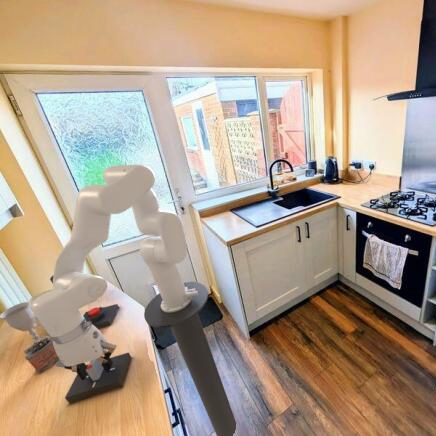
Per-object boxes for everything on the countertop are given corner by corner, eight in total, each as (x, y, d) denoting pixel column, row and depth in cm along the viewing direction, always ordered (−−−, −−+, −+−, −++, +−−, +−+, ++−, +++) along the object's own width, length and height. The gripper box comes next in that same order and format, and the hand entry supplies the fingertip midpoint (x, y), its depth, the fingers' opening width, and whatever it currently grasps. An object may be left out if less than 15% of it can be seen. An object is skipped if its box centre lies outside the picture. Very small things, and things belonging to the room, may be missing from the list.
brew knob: (99, 367, 78) (91, 356, 76) (104, 365, 78) (97, 354, 76) (93, 381, 74) (85, 369, 72) (99, 379, 74) (91, 368, 72)
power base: (119, 307, 107) (115, 300, 105) (110, 325, 98) (106, 317, 97) (88, 315, 104) (83, 308, 103) (76, 334, 96) (71, 326, 94)
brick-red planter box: (61, 350, 89) (47, 331, 85) (67, 353, 88) (53, 333, 84) (34, 371, 82) (17, 351, 78) (40, 374, 81) (23, 354, 77)
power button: (102, 309, 102) (100, 306, 101) (98, 315, 99) (96, 312, 98) (92, 311, 101) (90, 308, 100) (88, 318, 98) (86, 315, 97)
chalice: (32, 357, 88) (2, 320, 80) (26, 349, 91) (-3, 313, 84) (57, 341, 93) (31, 305, 86) (51, 334, 97) (25, 299, 89)
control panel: (132, 358, 83) (128, 351, 82) (122, 387, 75) (118, 380, 73) (85, 372, 80) (80, 366, 79) (69, 404, 72) (64, 397, 70)
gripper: (109, 311, 74) (132, 352, 81) (42, 329, 70) (72, 370, 77) (99, 331, 67) (124, 373, 74) (24, 351, 63) (59, 394, 71)
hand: (97, 371), depth 76 cm, fingers open, 5 cm apart
